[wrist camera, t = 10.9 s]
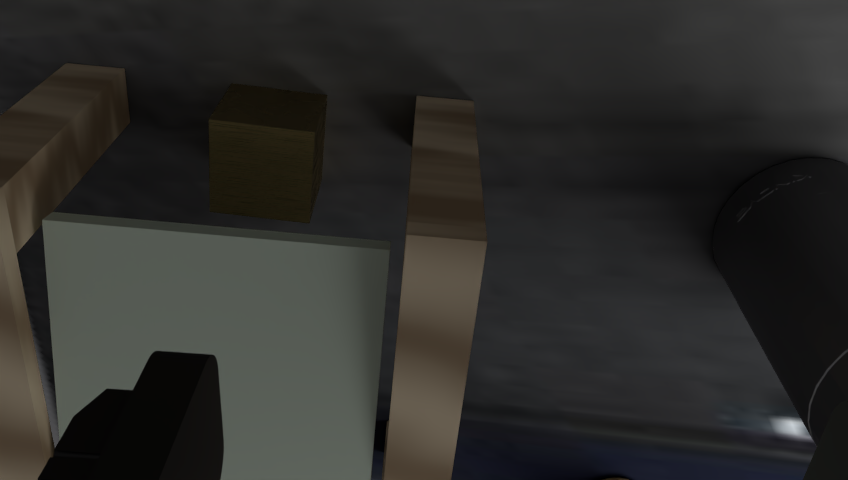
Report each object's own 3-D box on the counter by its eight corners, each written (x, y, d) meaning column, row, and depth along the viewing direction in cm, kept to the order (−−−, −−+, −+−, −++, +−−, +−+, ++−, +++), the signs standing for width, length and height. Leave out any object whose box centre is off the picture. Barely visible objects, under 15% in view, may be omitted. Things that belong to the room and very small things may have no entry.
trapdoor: (363, 573, 43) (358, 625, 40) (99, 553, 43) (72, 604, 39) (392, 221, 36) (389, 250, 33) (76, 194, 36) (41, 219, 32)
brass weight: (321, 179, 45) (327, 94, 42) (309, 223, 41) (314, 132, 38) (231, 168, 45) (232, 82, 42) (209, 211, 40) (208, 119, 38)
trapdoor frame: (427, 456, 56) (423, 657, 43) (117, 432, 55) (22, 629, 42) (473, 100, 42) (487, 241, 30) (66, 63, 42) (-94, 190, 29)
